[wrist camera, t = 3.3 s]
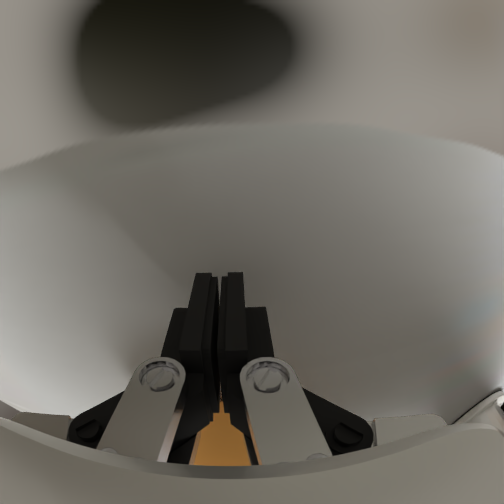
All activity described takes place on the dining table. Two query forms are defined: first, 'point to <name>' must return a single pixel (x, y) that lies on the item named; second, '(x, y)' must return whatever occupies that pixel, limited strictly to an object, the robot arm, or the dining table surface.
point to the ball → (221, 443)
